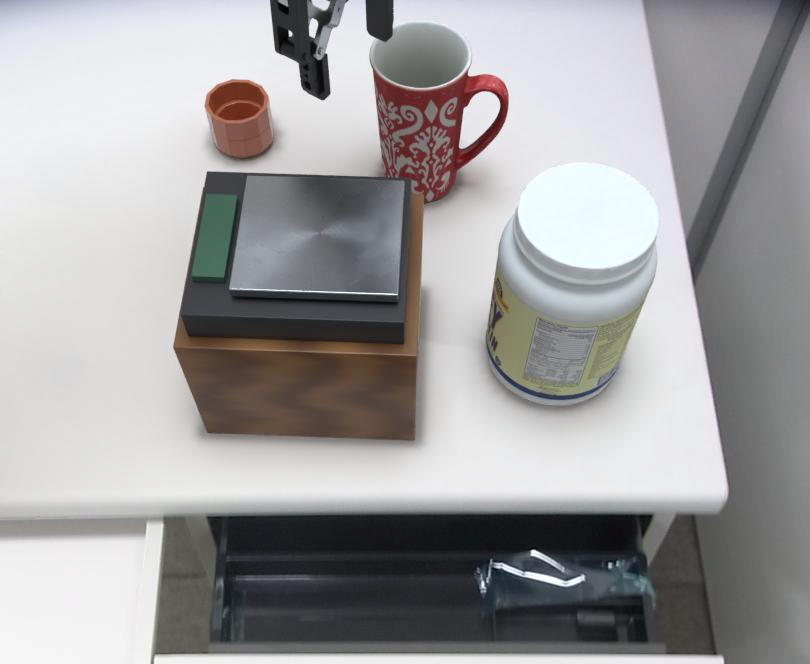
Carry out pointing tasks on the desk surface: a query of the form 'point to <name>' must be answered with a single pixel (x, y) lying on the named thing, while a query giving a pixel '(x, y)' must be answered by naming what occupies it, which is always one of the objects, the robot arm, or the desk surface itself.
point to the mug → (428, 104)
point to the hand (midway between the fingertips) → (349, 65)
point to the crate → (310, 375)
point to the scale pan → (319, 239)
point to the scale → (276, 317)
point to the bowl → (239, 118)
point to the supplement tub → (571, 282)
